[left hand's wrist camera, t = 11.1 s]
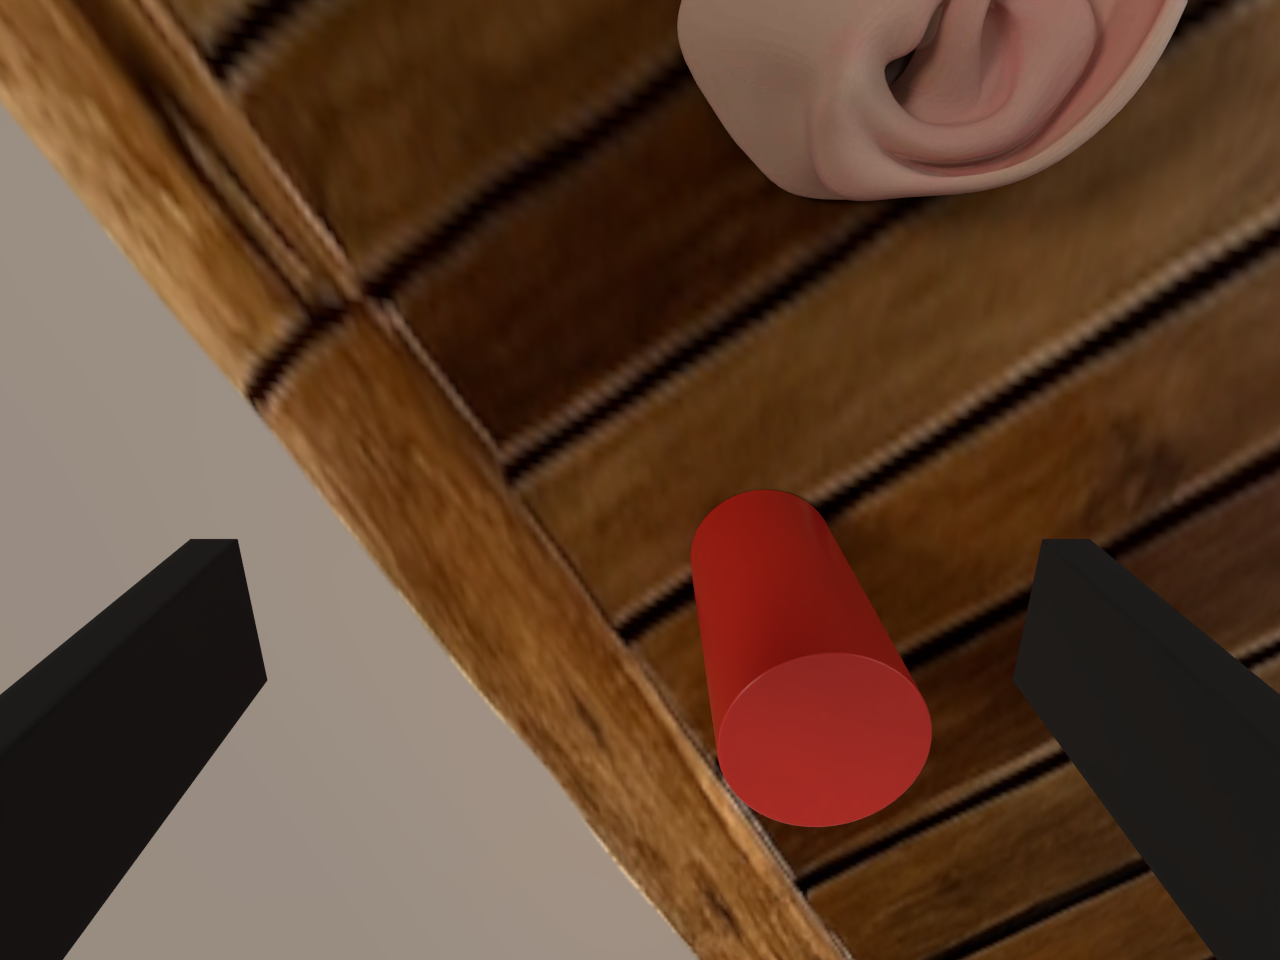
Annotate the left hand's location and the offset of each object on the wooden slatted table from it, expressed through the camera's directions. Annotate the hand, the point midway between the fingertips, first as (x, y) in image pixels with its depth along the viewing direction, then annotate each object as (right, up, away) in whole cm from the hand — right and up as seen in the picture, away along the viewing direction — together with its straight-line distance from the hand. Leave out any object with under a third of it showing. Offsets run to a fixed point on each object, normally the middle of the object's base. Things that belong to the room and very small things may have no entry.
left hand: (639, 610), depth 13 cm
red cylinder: (+5, -1, +19) cm, 20 cm away
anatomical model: (+8, +17, +12) cm, 22 cm away
